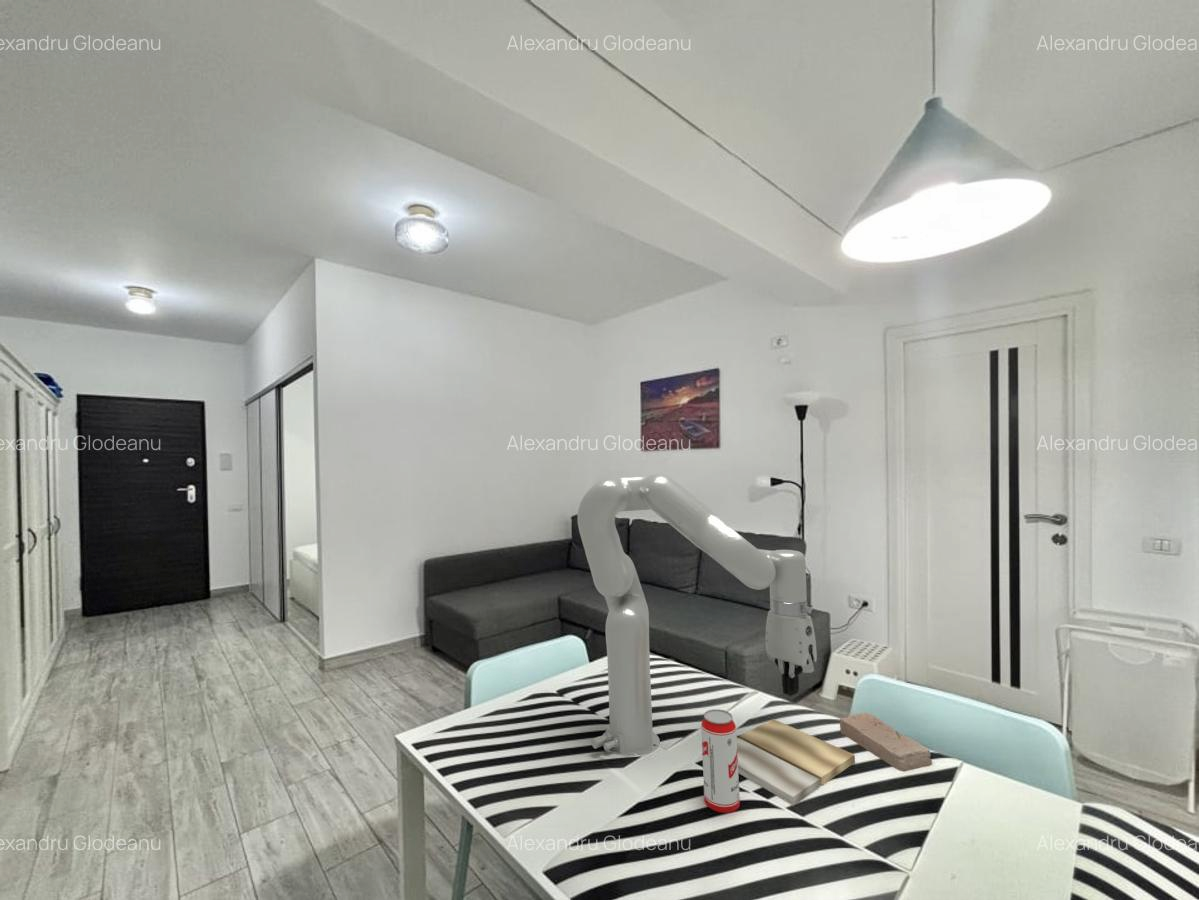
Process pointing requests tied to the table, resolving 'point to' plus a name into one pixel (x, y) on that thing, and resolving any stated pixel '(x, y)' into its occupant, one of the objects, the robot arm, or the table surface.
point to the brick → (885, 742)
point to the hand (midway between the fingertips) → (790, 693)
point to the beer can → (720, 761)
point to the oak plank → (800, 749)
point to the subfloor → (774, 773)
